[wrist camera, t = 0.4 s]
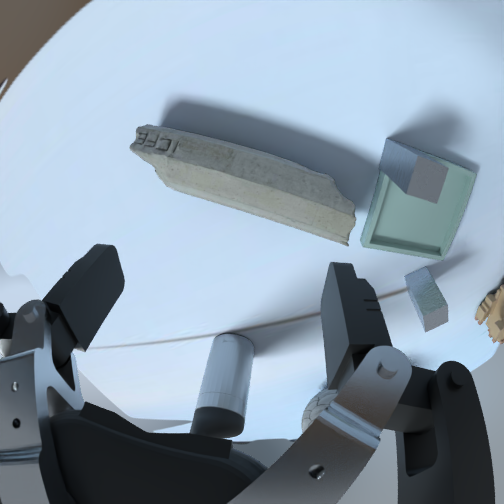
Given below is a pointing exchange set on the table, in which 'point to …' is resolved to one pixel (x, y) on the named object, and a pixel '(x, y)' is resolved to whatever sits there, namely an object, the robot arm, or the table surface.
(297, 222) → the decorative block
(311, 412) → the decorative sphere
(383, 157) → the post
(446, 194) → the tray
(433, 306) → the post
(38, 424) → the robot arm
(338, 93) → the table surface
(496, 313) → the toy
